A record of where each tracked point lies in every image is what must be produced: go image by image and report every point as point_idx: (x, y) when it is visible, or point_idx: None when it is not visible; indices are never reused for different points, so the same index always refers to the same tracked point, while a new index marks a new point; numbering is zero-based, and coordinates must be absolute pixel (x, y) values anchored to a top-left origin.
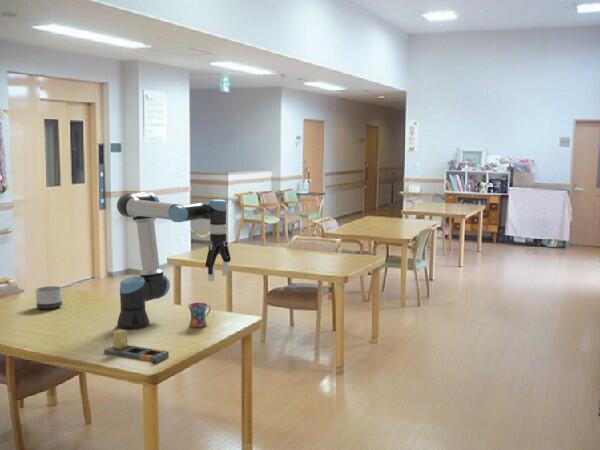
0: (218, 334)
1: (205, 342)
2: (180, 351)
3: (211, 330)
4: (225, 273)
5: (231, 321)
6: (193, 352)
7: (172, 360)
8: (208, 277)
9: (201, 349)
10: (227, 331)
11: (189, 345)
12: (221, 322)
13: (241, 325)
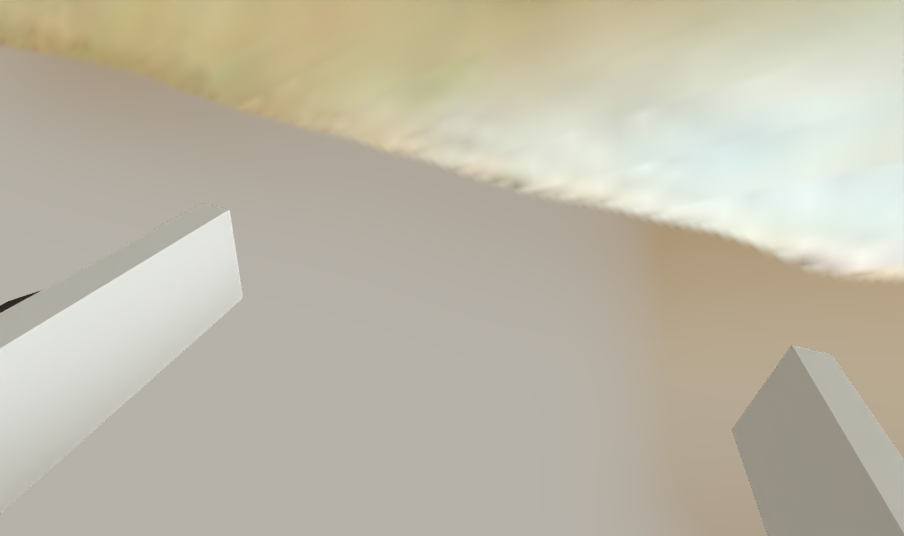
0: (518, 111)
1: (355, 86)
2: (178, 3)
3: (604, 26)
4: (769, 436)
5: (880, 101)
6: (201, 83)
7: (71, 25)
8: (149, 237)
9: (253, 107)
10: (591, 148)
11: (276, 9)
12: (856, 24)
13: (744, 201)
